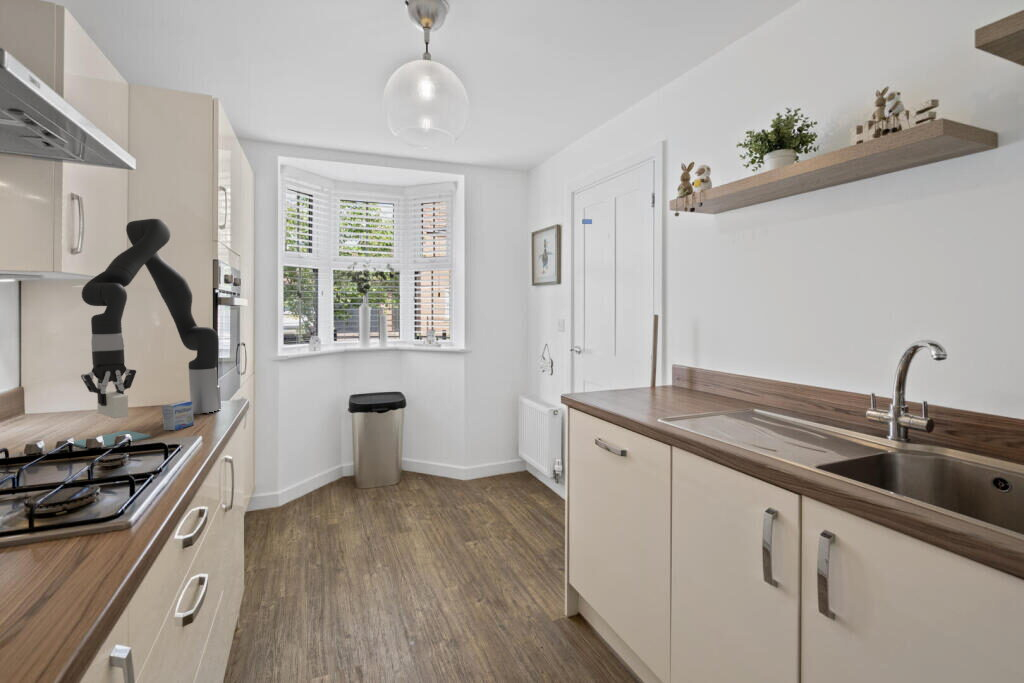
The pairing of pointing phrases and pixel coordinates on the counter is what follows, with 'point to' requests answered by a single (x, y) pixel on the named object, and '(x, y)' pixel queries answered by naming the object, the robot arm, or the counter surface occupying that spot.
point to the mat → (110, 438)
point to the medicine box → (177, 415)
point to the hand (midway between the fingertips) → (111, 404)
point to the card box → (114, 405)
